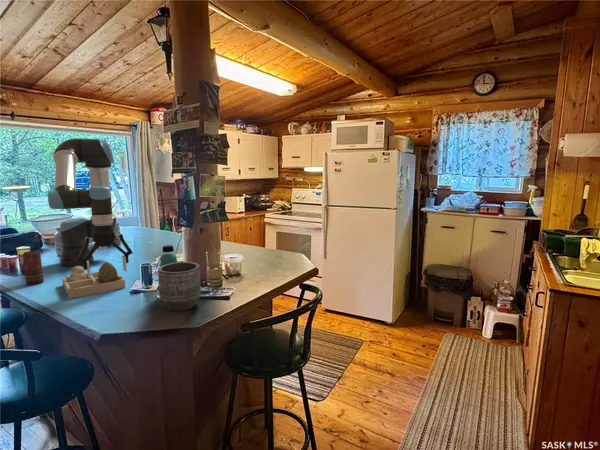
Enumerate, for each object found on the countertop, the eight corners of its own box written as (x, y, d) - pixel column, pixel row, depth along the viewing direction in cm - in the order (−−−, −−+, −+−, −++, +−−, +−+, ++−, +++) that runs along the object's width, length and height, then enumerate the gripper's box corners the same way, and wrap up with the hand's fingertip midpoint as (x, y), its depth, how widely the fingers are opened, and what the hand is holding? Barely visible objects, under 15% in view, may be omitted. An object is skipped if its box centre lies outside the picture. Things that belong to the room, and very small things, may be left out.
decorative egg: (98, 288, 142) (96, 265, 141) (99, 283, 149) (97, 260, 147) (118, 286, 146) (116, 263, 144) (118, 281, 152) (116, 259, 150)
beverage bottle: (164, 291, 142) (161, 244, 139) (181, 291, 142) (178, 243, 139) (159, 297, 136) (156, 247, 132) (176, 297, 136) (174, 247, 133)
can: (47, 281, 154) (44, 250, 152) (32, 286, 148) (28, 254, 146) (38, 280, 156) (34, 249, 154) (23, 284, 150) (18, 253, 148)
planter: (191, 296, 138) (189, 259, 135) (207, 306, 127) (206, 267, 125) (154, 305, 128) (152, 266, 126) (169, 317, 118) (166, 275, 115)
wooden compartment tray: (63, 285, 149) (62, 277, 149) (114, 276, 162) (113, 268, 161) (69, 298, 134) (68, 290, 134) (125, 287, 147) (124, 279, 146)
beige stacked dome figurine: (69, 283, 149) (67, 265, 148) (85, 280, 153) (84, 263, 151) (71, 287, 144) (69, 268, 143) (88, 284, 148) (86, 266, 147)
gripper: (68, 229, 132) (74, 282, 136) (137, 222, 148) (141, 270, 152) (65, 226, 138) (71, 277, 142) (133, 220, 154) (136, 266, 157)
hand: (107, 273), depth 147 cm, fingers open, 13 cm apart
